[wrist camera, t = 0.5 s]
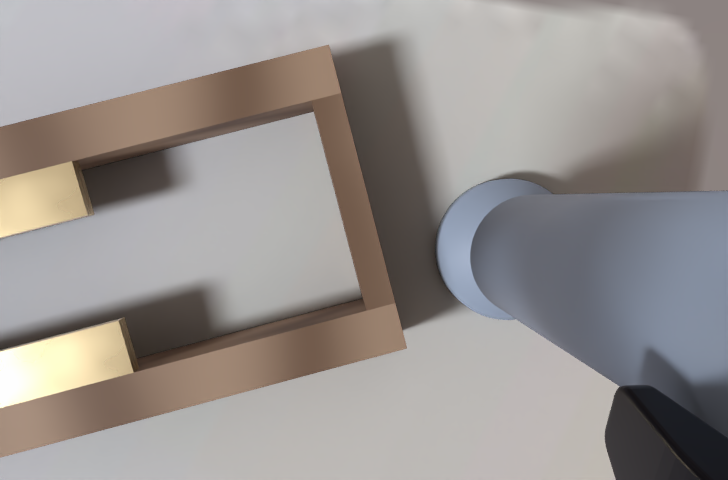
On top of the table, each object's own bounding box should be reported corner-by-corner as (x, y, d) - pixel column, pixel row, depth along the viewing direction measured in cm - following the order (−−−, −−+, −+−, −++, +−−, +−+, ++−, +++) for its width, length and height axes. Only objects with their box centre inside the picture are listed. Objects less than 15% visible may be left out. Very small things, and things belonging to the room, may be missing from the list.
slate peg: (525, 340, 24) (894, 608, 8) (409, 272, 24) (567, 419, 8) (595, 223, 24) (1106, 271, 8) (480, 153, 24) (783, 62, 8)
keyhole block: (329, 61, 23) (329, 44, 21) (398, 332, 24) (407, 348, 21) (-187, 191, 23) (-254, 190, 20) (-98, 465, 23) (-151, 498, 21)
